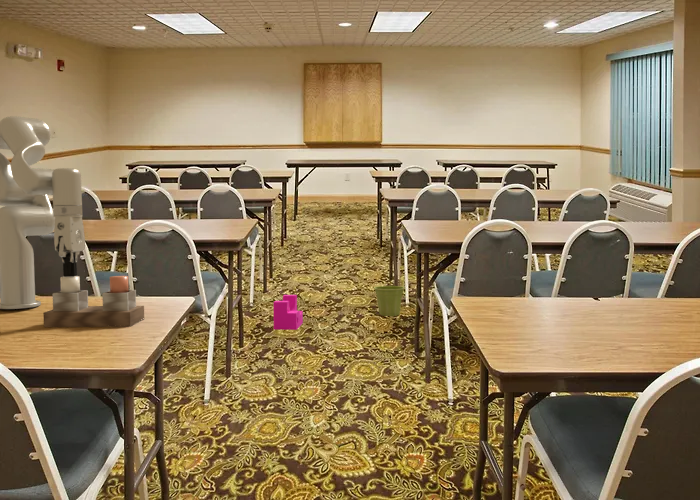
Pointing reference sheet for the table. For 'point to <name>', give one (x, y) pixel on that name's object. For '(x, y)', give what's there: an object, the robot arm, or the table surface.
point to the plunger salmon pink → (119, 284)
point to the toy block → (287, 314)
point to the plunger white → (70, 284)
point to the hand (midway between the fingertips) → (70, 276)
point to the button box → (93, 310)
